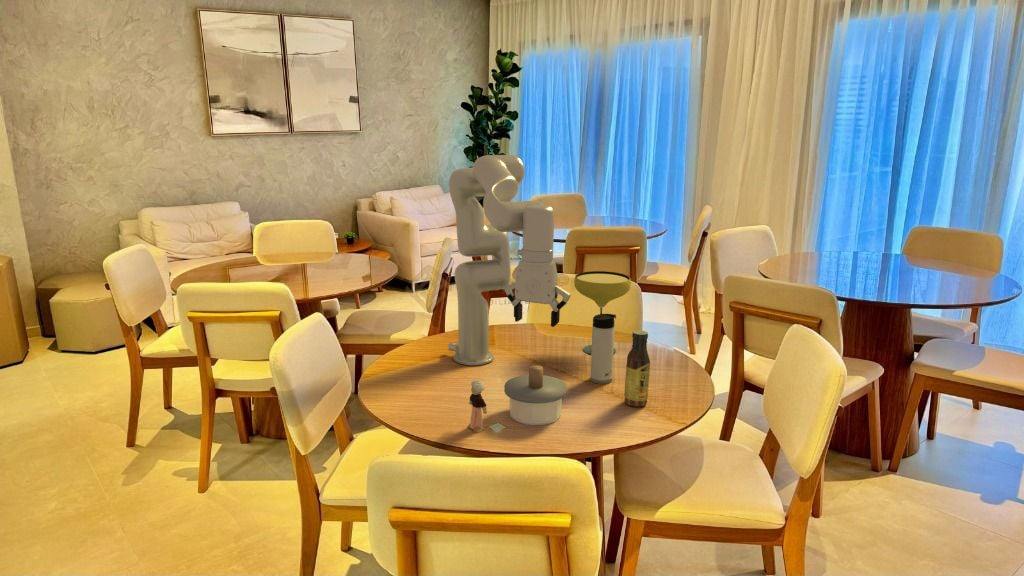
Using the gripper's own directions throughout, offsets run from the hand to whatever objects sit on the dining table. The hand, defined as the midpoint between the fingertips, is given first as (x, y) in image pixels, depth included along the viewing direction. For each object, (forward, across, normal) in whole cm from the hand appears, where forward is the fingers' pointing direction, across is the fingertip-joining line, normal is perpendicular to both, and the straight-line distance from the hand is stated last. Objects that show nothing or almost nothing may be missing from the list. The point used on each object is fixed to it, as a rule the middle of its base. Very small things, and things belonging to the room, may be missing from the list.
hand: (536, 322), depth 167 cm
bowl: (+24, +1, -1) cm, 24 cm away
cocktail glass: (+25, +2, +54) cm, 59 cm away
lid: (+18, +1, -1) cm, 18 cm away
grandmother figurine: (+24, -9, -15) cm, 30 cm away
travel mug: (+25, +10, +29) cm, 39 cm away
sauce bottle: (+24, +23, +17) cm, 37 cm away
